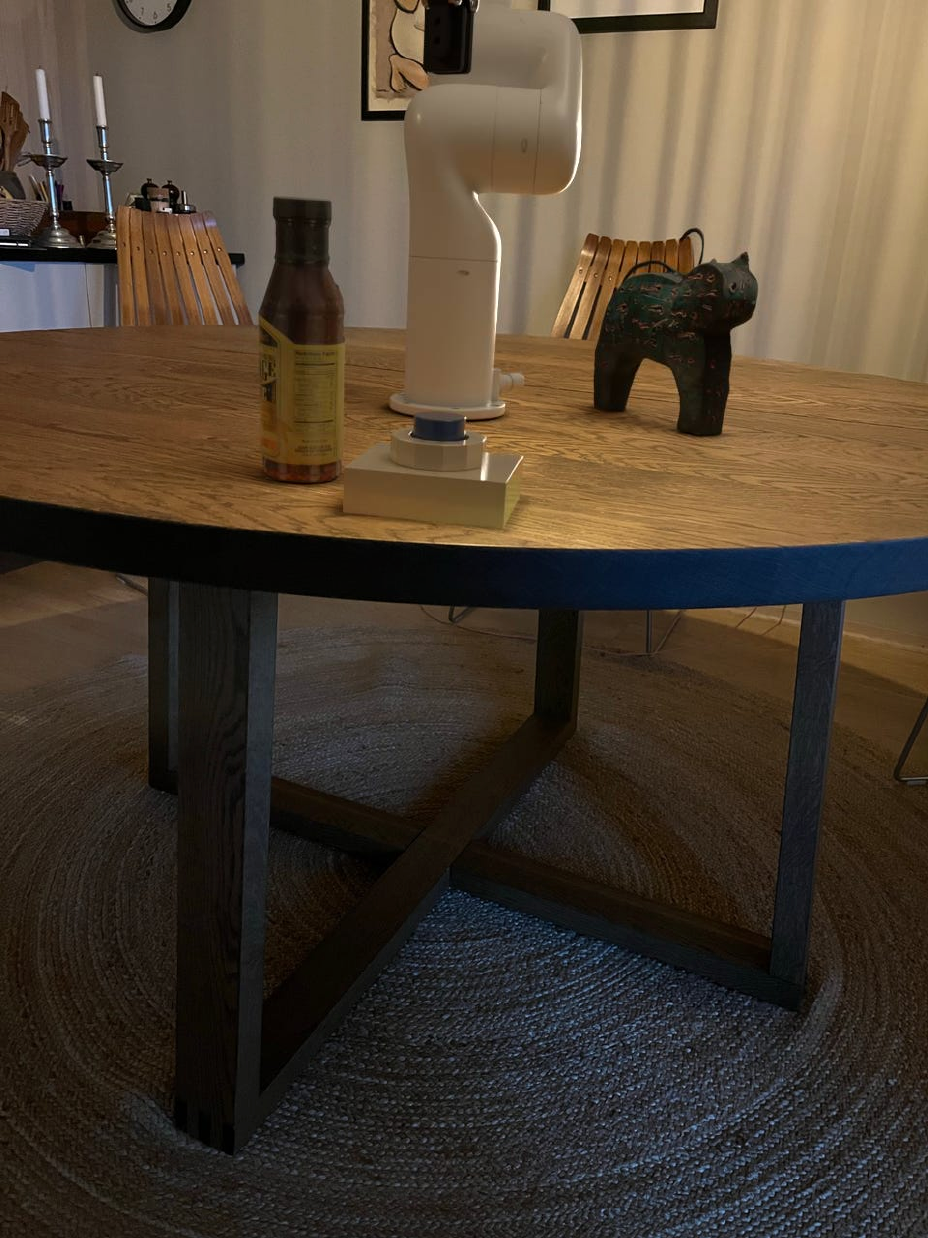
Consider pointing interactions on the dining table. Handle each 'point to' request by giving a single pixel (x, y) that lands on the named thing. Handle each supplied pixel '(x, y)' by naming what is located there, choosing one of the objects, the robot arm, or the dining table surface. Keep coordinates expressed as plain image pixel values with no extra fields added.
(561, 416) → the dining table surface
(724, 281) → the ceramic cat
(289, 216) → the sauce bottle
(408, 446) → the push button base
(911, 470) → the dining table surface
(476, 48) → the robot arm
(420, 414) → the cylinder
